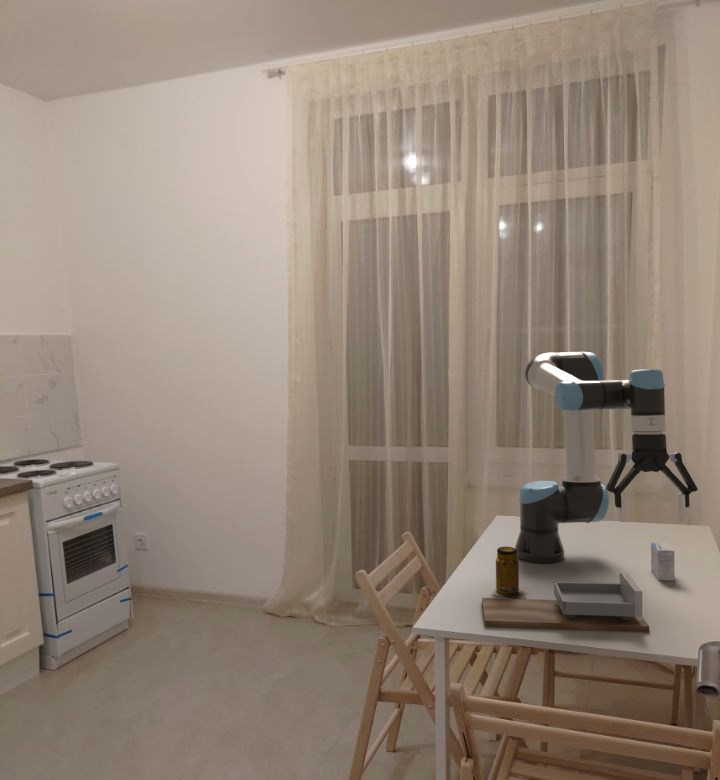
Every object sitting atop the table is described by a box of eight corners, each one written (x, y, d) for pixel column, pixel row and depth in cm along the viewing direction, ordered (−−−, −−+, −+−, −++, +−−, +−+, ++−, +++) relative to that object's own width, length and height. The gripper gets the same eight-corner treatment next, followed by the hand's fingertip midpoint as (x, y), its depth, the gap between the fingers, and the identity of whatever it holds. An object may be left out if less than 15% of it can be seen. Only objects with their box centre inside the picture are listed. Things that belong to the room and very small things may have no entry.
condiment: (497, 586, 175) (497, 544, 174) (528, 590, 171) (528, 547, 170) (492, 595, 168) (491, 551, 167) (524, 600, 164) (523, 555, 164)
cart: (554, 599, 160) (553, 570, 159) (626, 601, 157) (626, 571, 157) (563, 621, 147) (563, 589, 146) (642, 623, 144) (642, 591, 144)
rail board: (482, 603, 163) (482, 597, 163) (631, 608, 158) (631, 602, 157) (485, 626, 149) (485, 620, 149) (649, 632, 144) (649, 626, 144)
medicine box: (675, 581, 175) (675, 551, 174) (657, 580, 176) (657, 550, 175) (667, 571, 183) (667, 542, 182) (650, 571, 183) (650, 542, 183)
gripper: (598, 434, 150) (601, 523, 149) (710, 432, 146) (714, 524, 146) (591, 433, 157) (594, 518, 157) (697, 431, 154) (701, 518, 153)
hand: (652, 521), depth 151 cm, fingers open, 13 cm apart
